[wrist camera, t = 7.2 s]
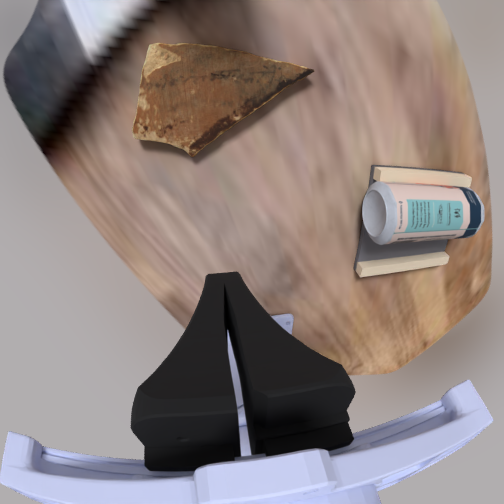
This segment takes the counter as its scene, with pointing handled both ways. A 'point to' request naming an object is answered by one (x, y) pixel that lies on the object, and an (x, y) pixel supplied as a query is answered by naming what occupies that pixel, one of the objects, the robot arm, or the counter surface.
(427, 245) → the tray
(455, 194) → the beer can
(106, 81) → the counter surface
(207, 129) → the shard
